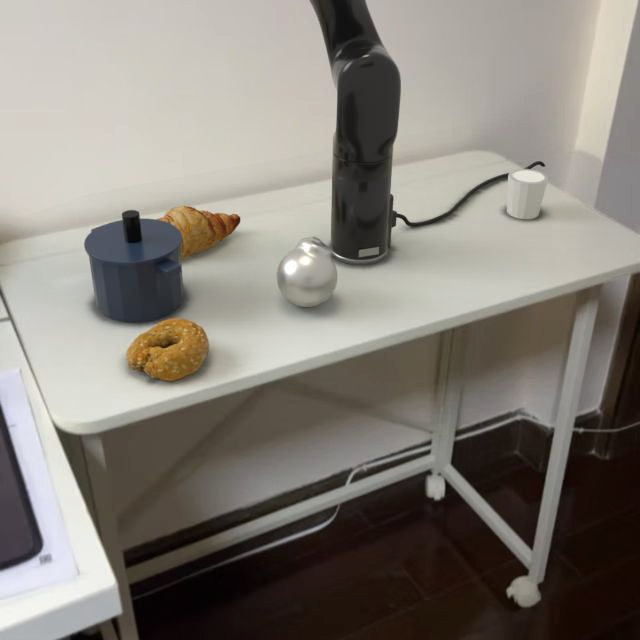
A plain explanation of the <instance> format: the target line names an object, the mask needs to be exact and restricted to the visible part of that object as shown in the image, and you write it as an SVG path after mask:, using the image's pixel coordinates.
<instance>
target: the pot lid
mask: <svg viewBox="0 0 640 640" xmlns="http://www.w3.org/2000/svg"><path fill="white" fill-rule="evenodd" d="M102 225H103V226H102ZM102 225H100V227H99V226H98V227H99V228H97V227H96V228H97V229H95V230H94V231H92V232H91V231H90V232H89V234H88V235H87V236H86V238H85V239H84V242H83V246H84V251H85V252H86V254H87V255H88V257H89V256H90V257H92V258H93V259H95V260H97V261H100V262H102V263H106V264H112V265H123V266H129V265H141V264H147V263H152V262H155V261H158V260H161V259H164V258H166V257H168V256H170V255H171V254H173V253H174V252H176V251H177V250H178V249H179V247H180V246H181V243H182V234H181V232H180V231H179V229H178V228H176V227H175V226H173V225H172V224H170V223H167V222H164V221H160V220H156V219H155V218H141V215H140V211H138V210H135V209H127V210H125V211H122V213H121V219H119V220H116V221H115V220H114V221H112V222H109V223H106V224H102Z"/></svg>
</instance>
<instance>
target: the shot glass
mask: <svg viewBox="0 0 640 640" xmlns="http://www.w3.org/2000/svg"><path fill="white" fill-rule="evenodd" d="M508 173H509V175H508V177H507V196H506V197H507V198H506V199H507V200H506V213H507V214H508V215H509V216H511V217H513V218H515V219H520V220H532V219H536V218H537V217H539V215H540V211H541V207H542V203H543V199H544V196H545V192H546V188H547V185H548V181H549V176H548V175H547V174H546V173H544V172H542V171H540V170H536V169H532V168H531V169H524V168H519V169H513V170H511V171H509V172H508Z"/></svg>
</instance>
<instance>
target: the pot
mask: <svg viewBox="0 0 640 640" xmlns="http://www.w3.org/2000/svg"><path fill="white" fill-rule="evenodd" d="M103 225H104V224H102V225H100V226H103ZM100 226H97V227H95V228H91V229H90V233H91V232H92V231H94V230H95V229H97V228H99V227H100ZM88 261H89V267H90V274H91V280H92V288H93V294H94V300H95V304H96V307H97V310H98V311H99V313H101V315H102V316H104V317H106V318H108V319H110V320H112V321H116V322H121V323H127V324H129V323H130V324H132V323H133V324H134V323H135V324H137V323H147V322H152V321H157V320H159V319H163V318H166V317H167V316H169V315H171V314H173V313H175V311H177V310H178V309H179V308H180V307H181V305H182V303H184V302H183V301H184V295H185V290H184V277H183V267H182V266H183V265H182V259H181V252H180V247H179V249H178V250H177V251H176V252H174V253H173V254H171V255H170V256H168V257H166V258H164V259H161V260H158V261H155V262H152V263H147V264H141V265H129V266H123V265H112V264H106V263H102V262H100V261H97V260H95V259H93V258H92V257H90V256H89V255H88Z"/></svg>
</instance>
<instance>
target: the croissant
mask: <svg viewBox="0 0 640 640" xmlns="http://www.w3.org/2000/svg"><path fill="white" fill-rule="evenodd" d="M155 220H160V221H164V222H167V223H170V224H172V225H173V226H175V227H176V228H178V229H179V231H180V232H181V234H182V243H181V246H180V252H181V260H183V259H184V258H186V257H189V256H194V255H198V254H200V253H202V252H204V251H207V250H209V249H210V248H211V247H213V246H214V245H216V244H218V243H219V242H221V241H223V240H224V239H226V238H227V237H229V236H231V235H232V234H233V233H234V232H235V230H236V229H237V227H238V226H239V225H240V224H241V216H239V215H238V214H236V213H232V214H229V215H228V214H227V213H225V212H224V213H223V212H215V213H213V212H211V211H208V210H199V209H197V208H195V207H193V206H186V205H182V206H174V207H171V208H170V209H169V210H167V212H165V214H164V216H163V217H159V218H156V219H155Z"/></svg>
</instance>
